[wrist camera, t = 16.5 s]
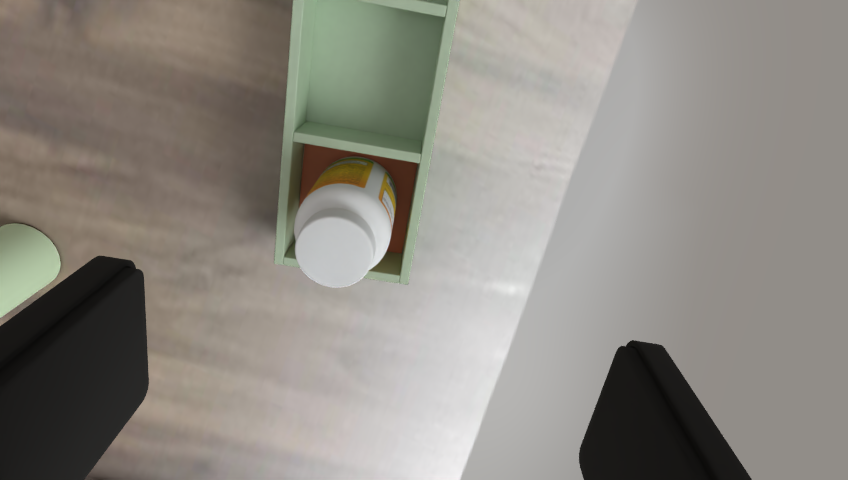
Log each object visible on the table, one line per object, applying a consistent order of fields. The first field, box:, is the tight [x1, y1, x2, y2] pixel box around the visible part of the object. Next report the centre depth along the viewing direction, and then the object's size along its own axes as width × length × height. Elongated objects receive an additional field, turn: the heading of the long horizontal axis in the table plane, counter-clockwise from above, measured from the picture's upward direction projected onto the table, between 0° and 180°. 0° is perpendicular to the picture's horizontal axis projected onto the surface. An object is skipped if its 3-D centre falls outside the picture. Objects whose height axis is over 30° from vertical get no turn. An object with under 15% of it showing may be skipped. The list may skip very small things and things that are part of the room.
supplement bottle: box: [294, 156, 397, 288], centre depth 31 cm, size 5×5×10 cm
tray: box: [274, 0, 460, 285], centre depth 32 cm, size 9×25×4 cm, turn 170°
